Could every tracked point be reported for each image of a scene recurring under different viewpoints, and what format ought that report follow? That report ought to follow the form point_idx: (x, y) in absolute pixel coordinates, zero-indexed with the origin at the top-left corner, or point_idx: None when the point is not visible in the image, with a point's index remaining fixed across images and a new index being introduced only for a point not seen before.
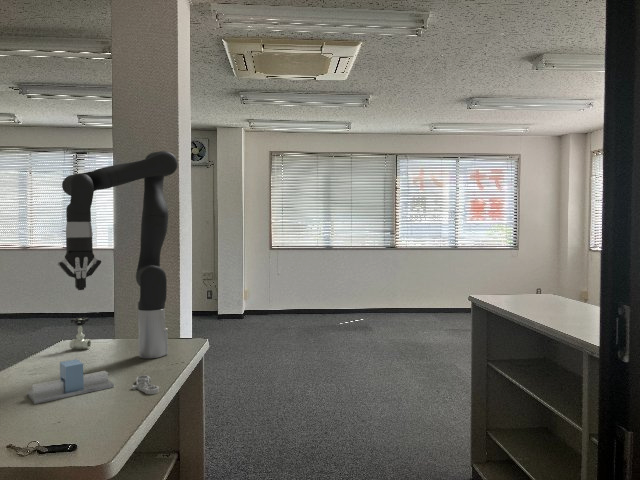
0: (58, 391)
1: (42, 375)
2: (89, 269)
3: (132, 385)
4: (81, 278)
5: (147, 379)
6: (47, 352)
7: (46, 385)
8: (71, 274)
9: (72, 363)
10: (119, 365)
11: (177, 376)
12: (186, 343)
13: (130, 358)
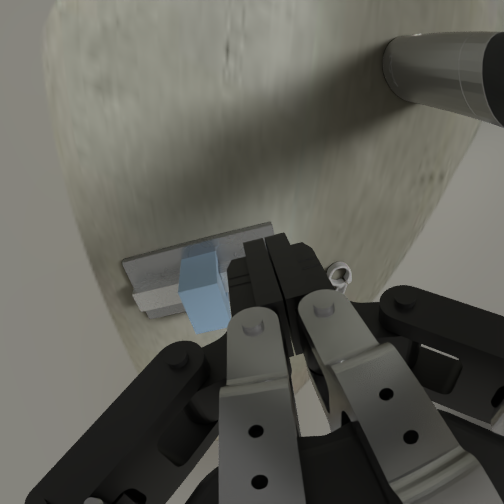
0: None
1: (126, 112)
2: (441, 350)
3: None
4: (299, 338)
5: (343, 288)
6: None
7: (161, 306)
8: (202, 423)
9: (208, 316)
10: (324, 113)
11: (394, 269)
12: (487, 19)
13: (360, 56)
